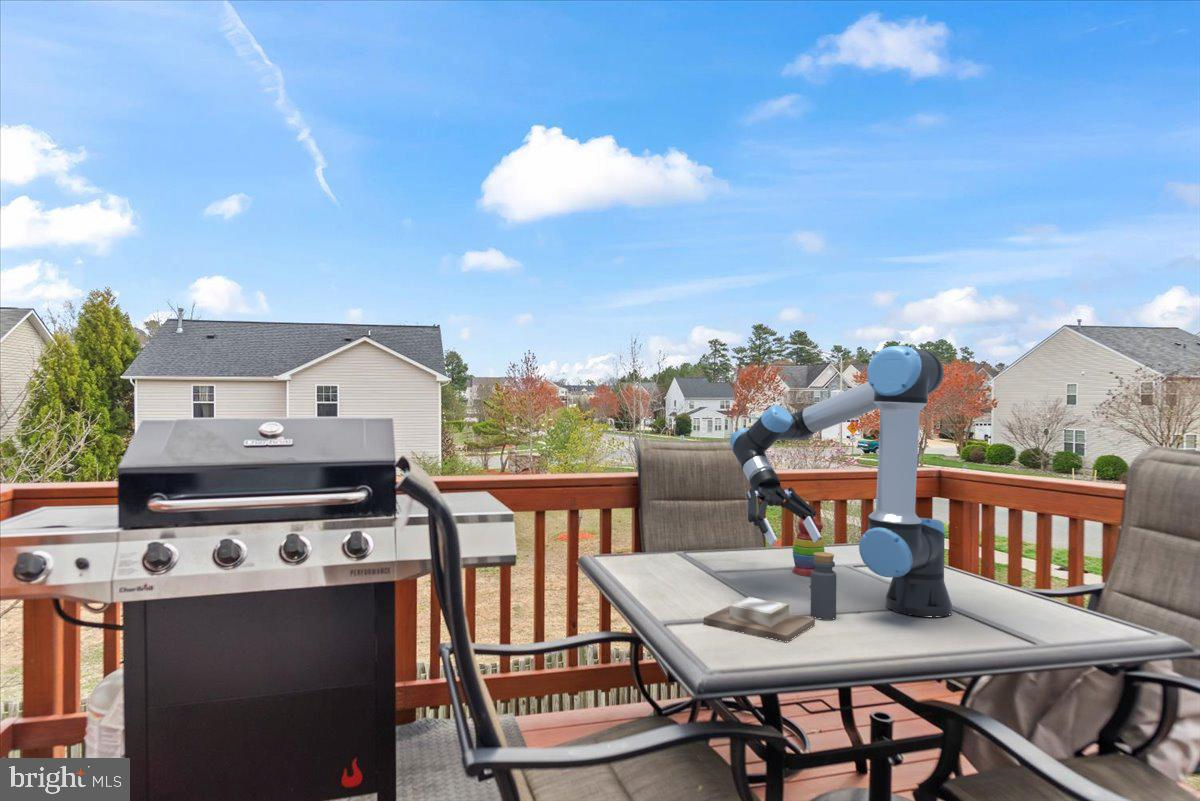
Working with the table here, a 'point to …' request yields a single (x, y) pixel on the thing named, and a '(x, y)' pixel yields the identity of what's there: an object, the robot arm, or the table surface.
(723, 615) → the plinth
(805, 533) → the stacking bear
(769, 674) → the table surface
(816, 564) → the bottle
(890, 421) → the robot arm
